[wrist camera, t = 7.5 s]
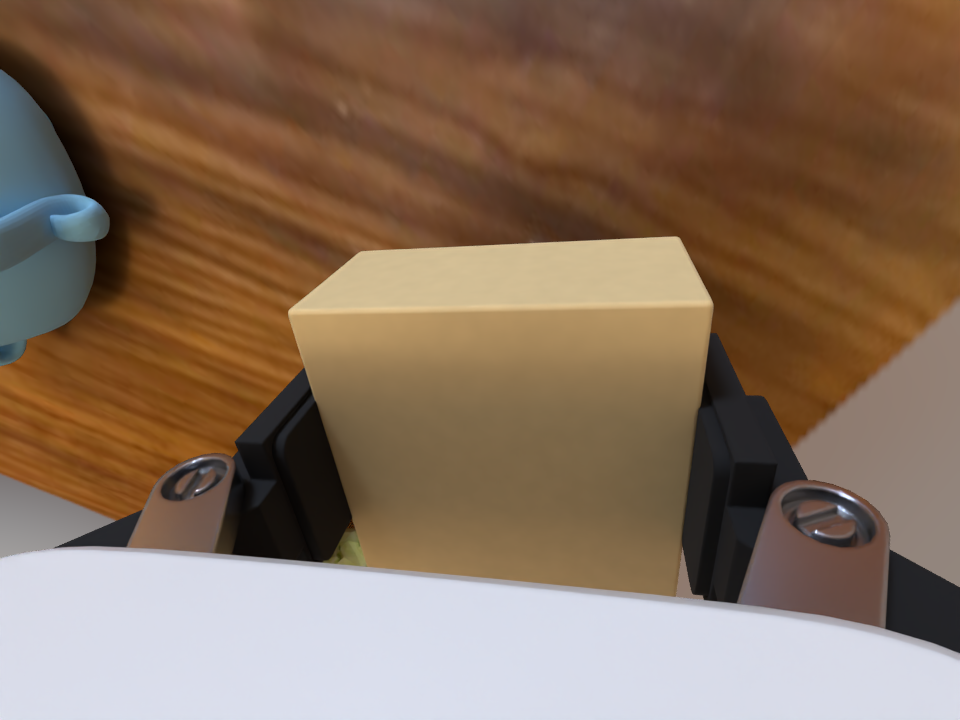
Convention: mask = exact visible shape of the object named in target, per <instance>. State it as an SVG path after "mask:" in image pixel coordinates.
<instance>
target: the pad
mask: <svg viewBox="0 0 960 720" xmlns="http://www.w3.org/2000/svg"><path fill="white" fill-rule="evenodd" d="M713 308H714V305H713V302H712V300H711V298H710V296H709V294H708V292H707V290H706V288H705V286H704V284H703V282H702V280H701V278H700V276H699V274H698V272H697V270H696V269H695V267H694V265H693V263H692V261H691V259H690V257H689V255H688V253H687V251H686V249H685V247H684V245H683V243H682V241H681V239H680V238H679V237H656V238H634V239H613V240H592V241H570V242H549V243H528V244H507V245H485V246H464V247H443V248H421V249H400V250H379V251H361V252H359V253H358V254H357V255H356V256H354V257H353V258H352V259H351V260H349V261H348V262H347V263H346V264H345V265H343V266H342V267H341V268H340V269H339V270H337V271H336V272H335V273H334V274H332V275H331V276H330V277H329V278H328V279H326V280H325V281H324V282H323V283H321V284H320V285H319V286H318V287H317V288H315V289H314V290H313V291H312V292H310V293H309V294H308V295H307V296H306V297H304V298H303V299H302V300H301V301H300V302H298V303H297V304H296V305H295V306H293V307H292V308H291V309H290V310H289V312H288V316H289V319H290V323H291V326H292V329H293V332H294V335H295V339H296V342H297V345H298V348H299V351H300V354H301V358H302V361H303V364H304V367H305V370H306V374H307V377H308V380H309V383H310V386H311V389H312V393H313V396H314V399H315V401H316V403H317V406H318V410H319V413H320V416H321V419H322V422H323V425H324V429H325V432H326V435H327V438H328V441H329V445H330V448H331V451H332V454H333V457H334V461H335V464H336V467H337V470H338V473H339V477H340V480H341V483H342V486H343V489H344V493H345V496H346V499H347V502H348V505H349V508H350V512H351V515H352V520H353V523H354V526H355V530H356V533H357V536H358V539H359V542H360V546H361V549H362V552H363V555H364V558H365V561H366V565H367V567H374V568H385V569H396V570H407V571H417V572H428V573H439V574H449V575H460V576H471V577H481V578H492V579H502V580H512V581H522V582H533V583H543V584H553V585H563V586H573V587H583V588H593V589H603V590H614V591H624V592H634V593H644V594H654V595H662V596H671V597H676V591H677V584H678V576H679V568H680V561H681V553H682V534H683V526H684V518H685V511H686V503H687V495H688V487H689V479H690V472H691V464H692V456H693V448H694V441H695V433H696V425H697V417H698V409H699V408H700V406H701V400H702V392H703V384H704V377H705V369H706V361H707V354H708V346H709V338H710V331H711V323H712V315H713Z"/></svg>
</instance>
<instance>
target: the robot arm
mask: <svg viewBox="0 0 960 720" xmlns="http://www.w3.org/2000/svg"><path fill="white" fill-rule="evenodd" d="M235 444H236V446H237V448H238V452H237V453H236V454H235V455H234V457H233V458H232V457H231V456H228V455H226V454H221V453H211V454H204V455H200V456H197V457H194V458H191V459H188V460H186V461H184V462H182V463H180V464H178V465H176V466H175V467H173V468H172V469H170V470H169V471H167V472H166V473H165V474H164V475H163V476H162V477H161V478H160V479H159V480H158V481H157V482H156V484H155V485H154V487H153V489H152V491H151V493H150V495H149V497H148V500H147V502H146V504H145V506H144V508H143V510H141V511H139V512H136V513H134V514H132V515H129V516H127V517H125V518H122V519H120V520H118V521H115V522H113V523H111V524H109V525H106V526H104V527H102V528H99V529H97V530H94V531H92V532H90V533H87V534H85V535H83V536H81V537H78V538H76V539H74V540H71V541H69V542H67V543H64V544H62V545H60V546H58V547H55V548H53V549H46V550H38V551H31V552H23V553H19V554H15V555H11V556H7V557H3V558H0V720H960V587H958V586H956V585H954V584H953V583H951V582H949V581H947V580H945V579H943V578H941V577H940V576H938V575H936V574H934V573H932V572H930V571H929V570H927V569H925V568H923V567H921V566H919V565H917V564H916V563H914V562H912V561H910V560H908V559H906V558H904V557H903V556H901V555H899V554H897V553H895V552H893V551H891V550H890V532H889V528H888V524H887V522H886V521H885V519H884V518H883V516H882V515H881V513H880V512H879V511H878V510H877V509H876V508H875V507H874V506H872V505H871V504H870V503H869V502H868V501H867V500H865V499H863V498H862V497H860V496H858V495H856V494H855V493H853V492H851V491H849V490H846V489H844V488H841V487H839V486H836V485H834V484H829V483H825V482H820V481H815V480H808V479H807V477H806V475H805V473H804V471H803V469H802V467H801V465H800V463H799V462H798V460H797V458H796V456H795V454H794V452H793V450H792V448H791V446H790V444H789V442H788V440H787V439H786V437H785V435H784V433H783V431H782V429H781V427H780V425H779V423H778V421H777V419H776V418H775V416H774V414H773V412H772V410H771V408H770V406H769V404H768V402H767V401H766V399H765V398H764V397H763V396H747V395H745V392H744V390H743V388H742V386H741V384H740V382H739V380H738V378H737V375H736V373H735V371H734V369H733V367H732V365H731V363H730V360H729V358H728V356H727V354H726V352H725V350H724V348H723V346H722V343H721V341H720V339H719V337H718V335H717V334H716V333H710V338H709V346H708V354H707V361H706V369H705V377H704V384H703V392H702V400H701V406H700V408H699V409H698V417H697V425H696V433H695V441H694V448H693V456H692V464H691V472H690V479H689V487H688V495H687V503H686V511H685V518H684V526H683V534H682V546H683V551H684V556H685V561H686V566H687V572H688V577H689V582H690V587H691V591H692V593H693V594H694V595H703V598H704V600H698V599H689V598H680V597H671V596H662V595H654V594H644V593H634V592H624V591H614V590H603V589H593V588H583V587H573V586H563V585H553V584H543V583H533V582H522V581H512V580H502V579H492V578H481V577H471V576H460V575H449V574H439V573H428V572H417V571H407V570H396V569H385V568H374V567H363V566H352V565H341V564H331V563H323V561H327V560H329V559H330V558H331V557H332V555H333V553H334V551H335V550H336V548H337V546H338V544H339V542H340V540H341V538H342V536H343V534H344V532H345V530H346V528H347V527H348V525H349V523H350V521H351V519H352V515H351V512H350V508H349V505H348V502H347V499H346V496H345V493H344V489H343V486H342V483H341V480H340V477H339V473H338V470H337V467H336V464H335V461H334V457H333V454H332V451H331V448H330V445H329V441H328V438H327V435H326V432H325V429H324V425H323V422H322V419H321V416H320V413H319V410H318V406H317V403H316V401H315V399H314V396H313V393H312V389H311V386H310V383H309V380H308V377H307V374H306V370H305V367H304V368H303V369H302V371H301V372H300V373H299V374H298V375H297V376H296V377H295V378H294V379H293V380H292V381H291V382H290V383H289V384H288V385H287V387H286V388H285V389H284V390H283V391H282V392H281V393H280V394H279V395H278V396H277V397H276V398H275V399H274V400H273V401H272V403H271V404H270V405H269V406H268V407H267V408H266V409H265V410H264V411H263V412H262V413H261V414H260V415H259V416H258V418H257V419H256V420H255V421H254V422H253V423H252V424H251V425H250V426H249V427H248V428H247V429H246V430H245V431H244V432H243V434H242V435H241V436H240V437H239V438H238V439H237V440H236V441H235Z"/></svg>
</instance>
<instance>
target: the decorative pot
mask: <svg viewBox="0 0 960 720" xmlns="http://www.w3.org/2000/svg"><path fill="white" fill-rule="evenodd" d="M109 226H110V218H109V216H108V214H107V212H106V211H105V210H104V208H103V207H102V206H101V205H100V204H99V203H97V202H96V201H95V200H93V199H91V198H88V197H86V196H85V193H84V191H83V188H82V185H81V182H80V180H79V178H78V175H77V173H76V171H75V169H74V166H73V164H72V162H71V160H70V158H69V156H68V154H67V152H66V150H65V148H64V146H63V145H62V143H61V141H60V139H59V137H58V136H57V134H56V132H55V130H54V128H53V125H52V123H51V121H50V120H49V118H48V117H47V115H46V114H45V113H44V112H43V111H42V110H41V108H40V107H39V106H38V105H37V103H36V102H35V101H34V100H33V98H32V97H31V96H30V95H29V93H28V92H27V91H26V90H25V89H24V88H23V87H22V86H21V85H20V84H19V83H18V82H17V81H16V80H14V79H13V78H12V77H10V76H9V75H8V74H6V73H5V72H4V71H3V70H1V69H0V366H3V365H6V364H10V363H12V362H14V361H16V360H18V359H19V358H20V357H21V356H22V355H23V353H24V351H25V349H26V344H27V339H29V338H32V337H35V336H38V335H41V334H44V333H47V332H50V331H52V330H54V329H56V328H58V327H60V326H63V325H65V324H66V323H67V322H69V321H70V320H72V319H73V318H74V317H75V316H76V315H77V314H78V312H79V311H80V310H81V309H82V307H83V306H84V304H85V302H86V299H87V297H88V294H89V292H90V289H91V287H92V284H93V280H94V275H95V268H96V245H95V240H99V239H102V238H104V237H105V236H106V235H107V233H108V231H109Z"/></svg>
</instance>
